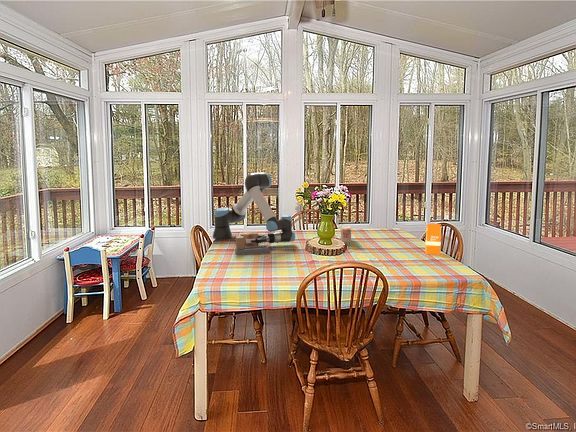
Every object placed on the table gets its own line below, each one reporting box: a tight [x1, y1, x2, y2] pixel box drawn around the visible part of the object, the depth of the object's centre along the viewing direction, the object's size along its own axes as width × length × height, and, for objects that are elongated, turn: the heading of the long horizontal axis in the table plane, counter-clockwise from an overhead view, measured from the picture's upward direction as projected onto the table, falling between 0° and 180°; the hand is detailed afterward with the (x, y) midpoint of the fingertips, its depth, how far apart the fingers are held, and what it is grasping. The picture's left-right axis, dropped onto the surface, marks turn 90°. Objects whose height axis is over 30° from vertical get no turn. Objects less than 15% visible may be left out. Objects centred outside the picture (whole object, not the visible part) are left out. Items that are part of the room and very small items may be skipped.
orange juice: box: [424, 223, 442, 255], centre depth 304 cm, size 8×9×20 cm
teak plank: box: [240, 232, 259, 247], centre depth 322 cm, size 14×4×10 cm, turn 107°
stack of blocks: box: [340, 225, 352, 246], centre depth 339 cm, size 21×6×12 cm, turn 177°
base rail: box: [234, 235, 271, 256], centre depth 307 cm, size 22×9×11 cm, turn 107°
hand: (244, 239), depth 321 cm, fingers open, 12 cm apart
